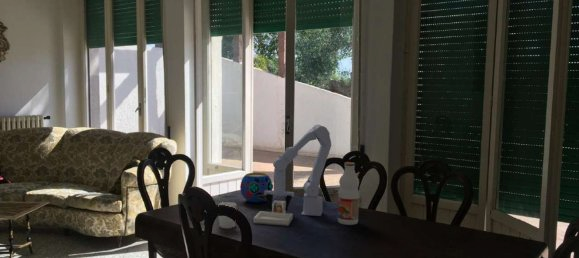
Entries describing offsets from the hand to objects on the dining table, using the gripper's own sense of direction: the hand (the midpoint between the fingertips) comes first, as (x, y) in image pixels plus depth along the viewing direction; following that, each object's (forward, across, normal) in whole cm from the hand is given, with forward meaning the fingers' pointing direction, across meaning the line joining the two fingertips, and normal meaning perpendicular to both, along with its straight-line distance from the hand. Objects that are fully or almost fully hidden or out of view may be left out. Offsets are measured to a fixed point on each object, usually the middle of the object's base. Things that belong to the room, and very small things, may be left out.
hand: (278, 210), depth 228 cm
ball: (0, 0, 0) cm, 0 cm away
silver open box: (+2, 0, 0) cm, 2 cm away
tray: (+2, 0, -12) cm, 13 cm away
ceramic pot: (+2, -17, +22) cm, 28 cm away
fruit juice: (+2, +34, -6) cm, 35 cm away
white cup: (+2, -18, -26) cm, 32 cm away
